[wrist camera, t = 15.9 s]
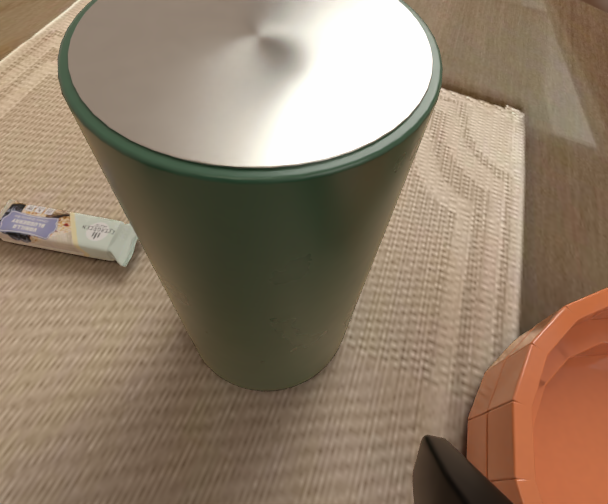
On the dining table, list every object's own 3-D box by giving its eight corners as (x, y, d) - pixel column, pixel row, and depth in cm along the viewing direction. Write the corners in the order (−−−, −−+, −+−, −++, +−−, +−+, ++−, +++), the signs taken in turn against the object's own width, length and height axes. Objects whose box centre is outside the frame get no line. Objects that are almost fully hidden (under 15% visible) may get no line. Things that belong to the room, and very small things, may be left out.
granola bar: (150, 230, 19) (144, 217, 18) (130, 273, 18) (123, 261, 17) (15, 205, 19) (2, 190, 18) (-14, 244, 18) (-29, 231, 17)
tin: (228, 424, 15) (121, 252, 5) (167, 282, 18) (19, -16, 8) (375, 342, 17) (527, 95, 7) (299, 226, 20) (323, -71, 10)
